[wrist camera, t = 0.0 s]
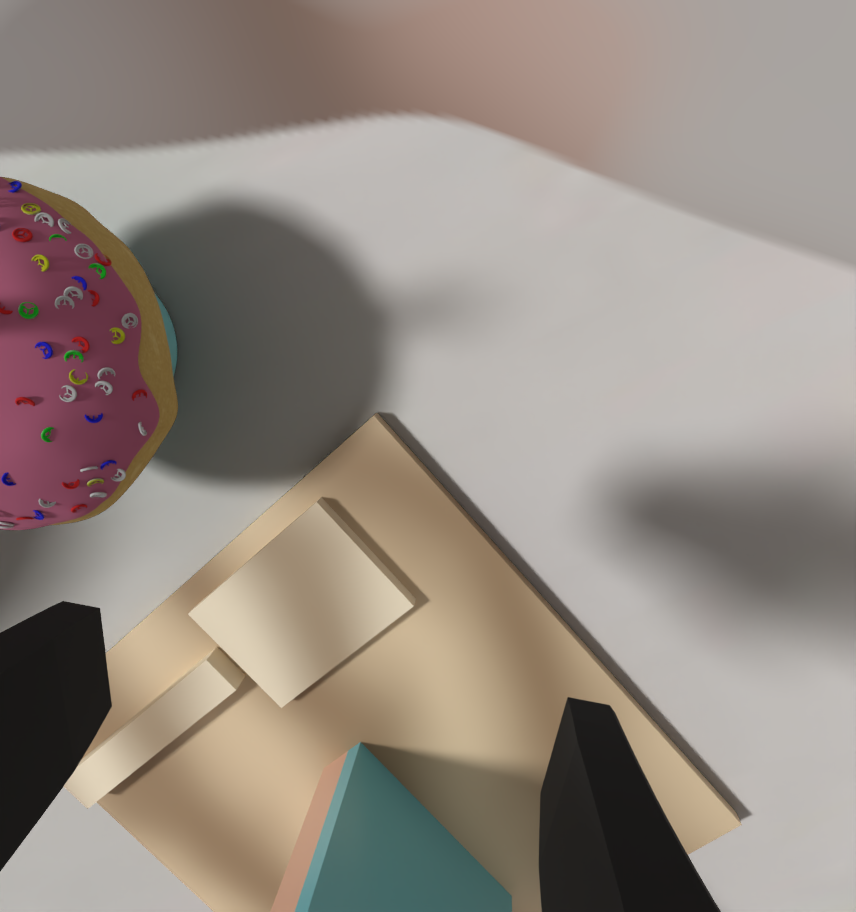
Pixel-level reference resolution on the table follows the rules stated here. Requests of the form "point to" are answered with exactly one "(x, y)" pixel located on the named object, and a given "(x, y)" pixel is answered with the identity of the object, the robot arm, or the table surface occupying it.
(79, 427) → the cupcake
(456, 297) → the table surface
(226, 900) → the cork mat
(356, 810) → the tile
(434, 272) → the table surface
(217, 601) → the wooden turner
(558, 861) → the robot arm
